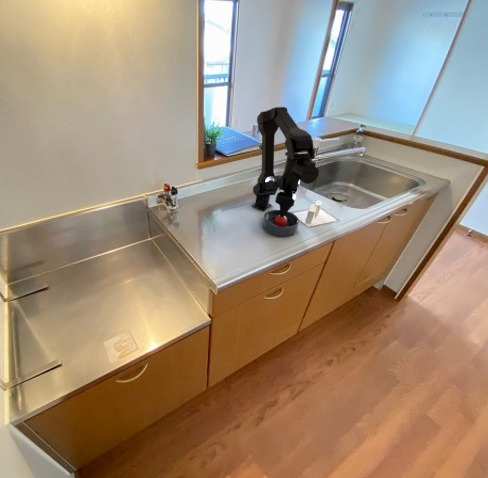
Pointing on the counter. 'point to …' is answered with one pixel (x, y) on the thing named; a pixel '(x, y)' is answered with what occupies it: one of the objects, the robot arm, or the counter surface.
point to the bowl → (279, 230)
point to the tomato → (280, 221)
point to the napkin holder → (314, 215)
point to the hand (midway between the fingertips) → (283, 210)
